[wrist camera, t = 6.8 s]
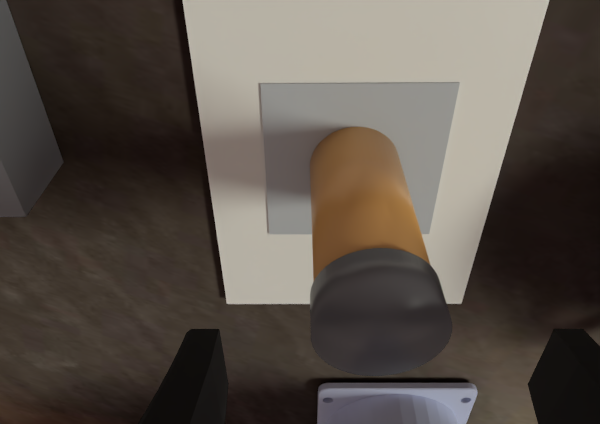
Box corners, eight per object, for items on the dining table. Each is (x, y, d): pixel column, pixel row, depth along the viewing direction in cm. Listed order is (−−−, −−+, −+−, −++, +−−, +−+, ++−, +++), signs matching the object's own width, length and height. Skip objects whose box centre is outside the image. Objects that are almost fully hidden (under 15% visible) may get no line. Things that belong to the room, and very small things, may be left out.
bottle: (394, 204, 18) (437, 376, 12) (305, 202, 18) (308, 375, 12) (408, 124, 16) (466, 288, 10) (308, 123, 16) (313, 286, 10)
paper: (459, 298, 22) (461, 305, 21) (227, 298, 22) (226, 305, 21) (564, -71, 13) (570, -68, 13) (175, -68, 13) (172, -65, 13)
